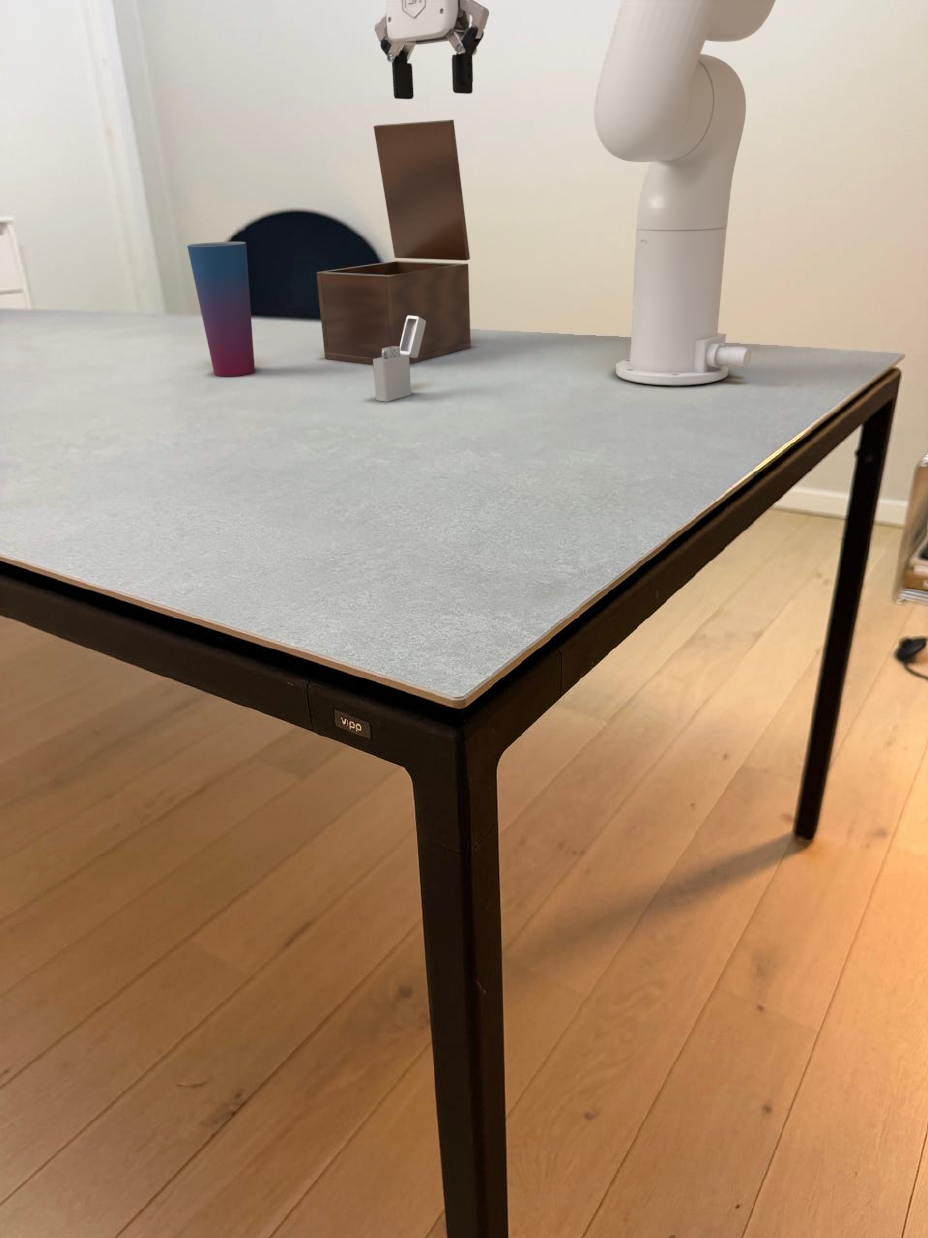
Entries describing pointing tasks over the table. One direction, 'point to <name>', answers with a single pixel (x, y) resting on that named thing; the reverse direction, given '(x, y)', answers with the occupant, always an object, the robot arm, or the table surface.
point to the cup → (225, 304)
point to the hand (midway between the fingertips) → (432, 95)
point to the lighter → (398, 362)
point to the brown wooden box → (393, 308)
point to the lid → (423, 190)
